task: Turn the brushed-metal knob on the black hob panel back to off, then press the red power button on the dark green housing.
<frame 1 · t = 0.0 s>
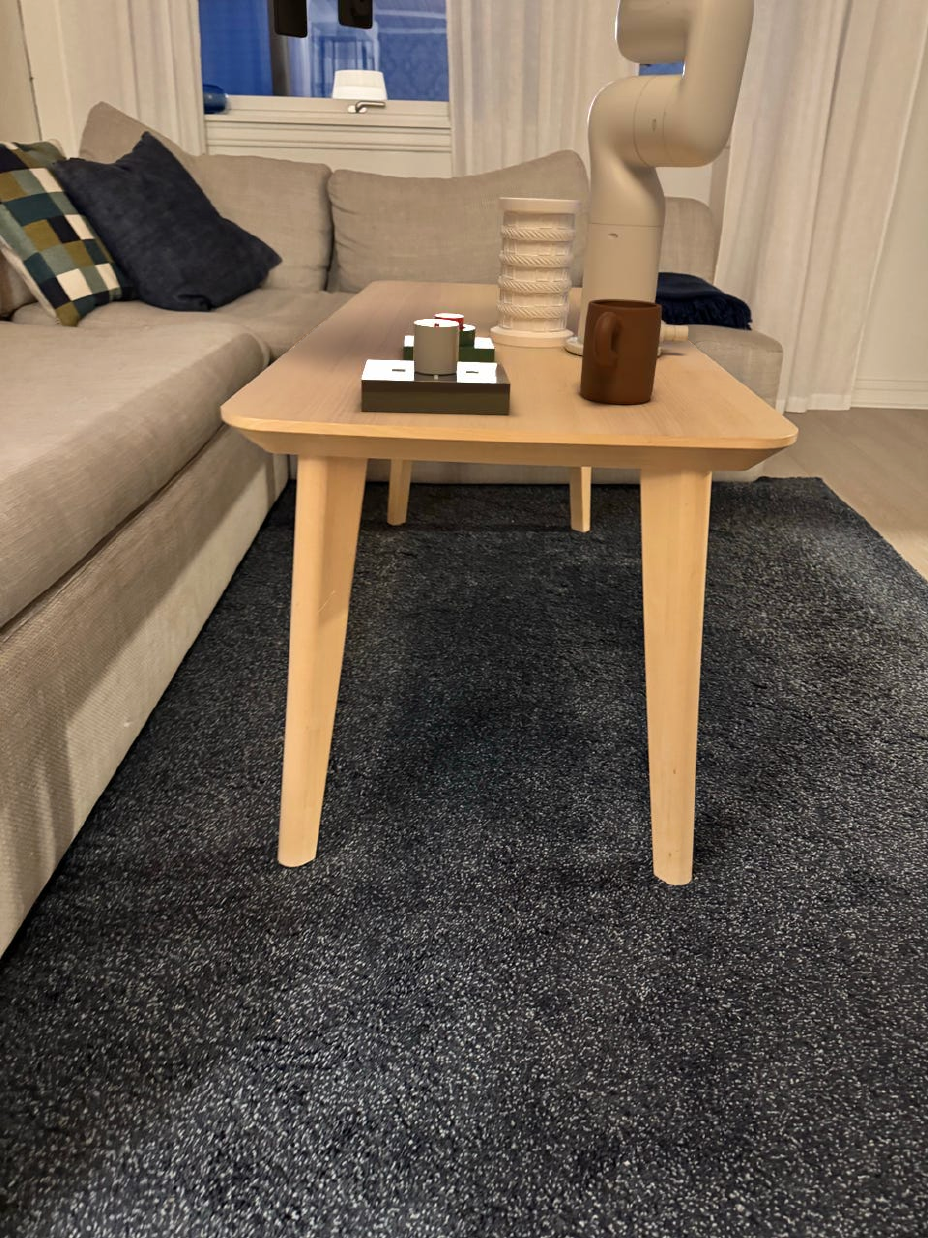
hand: (322, 31, 79), 31 cm above the table, tool pointing down, fingers open, 9 cm apart
power box: (448, 355, 114), on the table
mug: (609, 403, 93), on the table
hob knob: (436, 345, 88), point 5 cm above the table, hinge at 90.0°
power button: (449, 322, 112), point 4 cm above the table, slide at 0.1 cm
decorative container: (531, 341, 127), on the table
hob: (434, 401, 91), on the table
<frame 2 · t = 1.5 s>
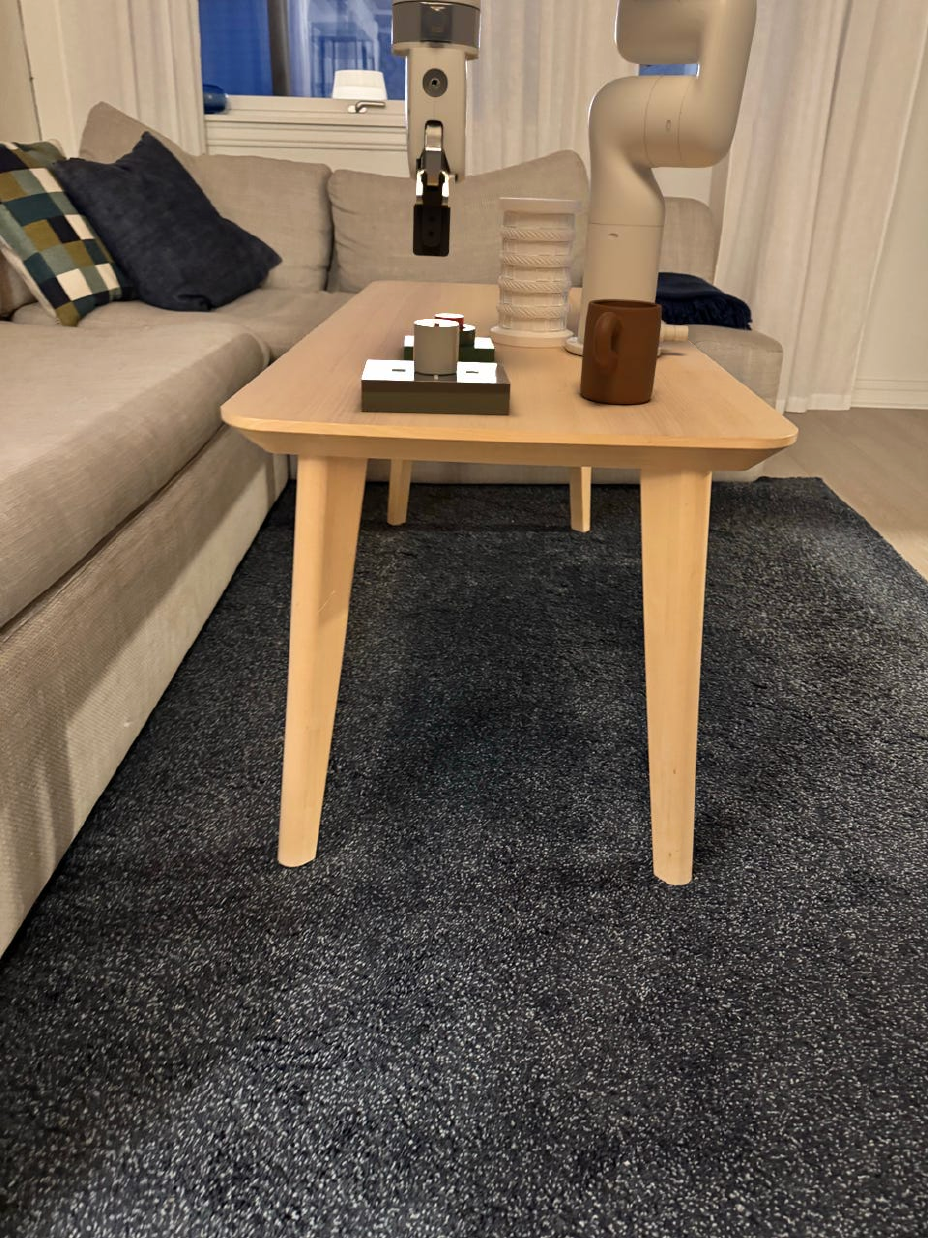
hand: (430, 252, 84), 14 cm above the table, tool pointing down, fingers open, 9 cm apart
nothing on the table moved.
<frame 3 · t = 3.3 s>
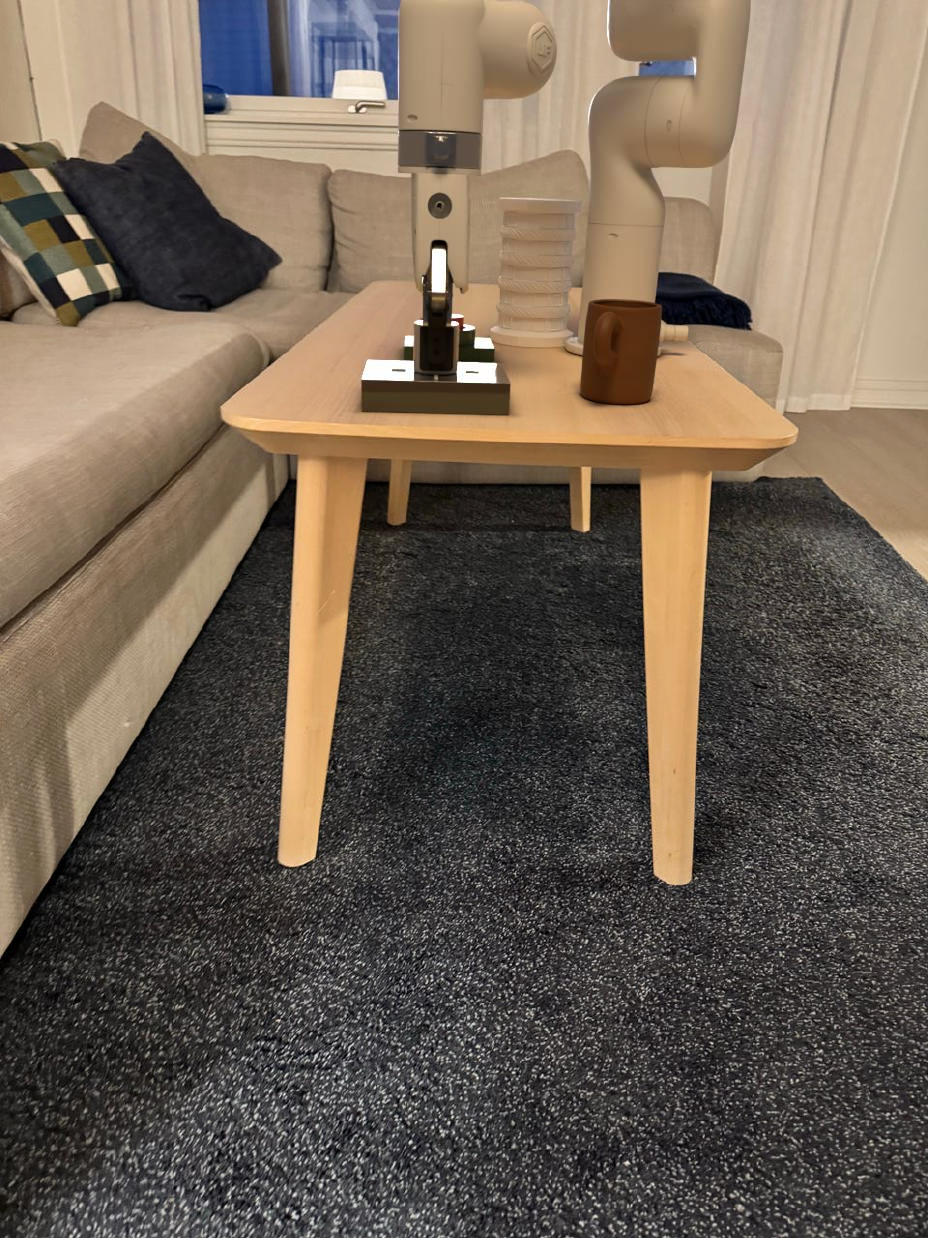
hand: (435, 363, 89), 4 cm above the table, tool pointing down, fingers closed on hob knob, 4 cm apart
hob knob: (436, 345, 88), point 5 cm above the table, hinge at 90.2°, touching gripper
everything else where it was.
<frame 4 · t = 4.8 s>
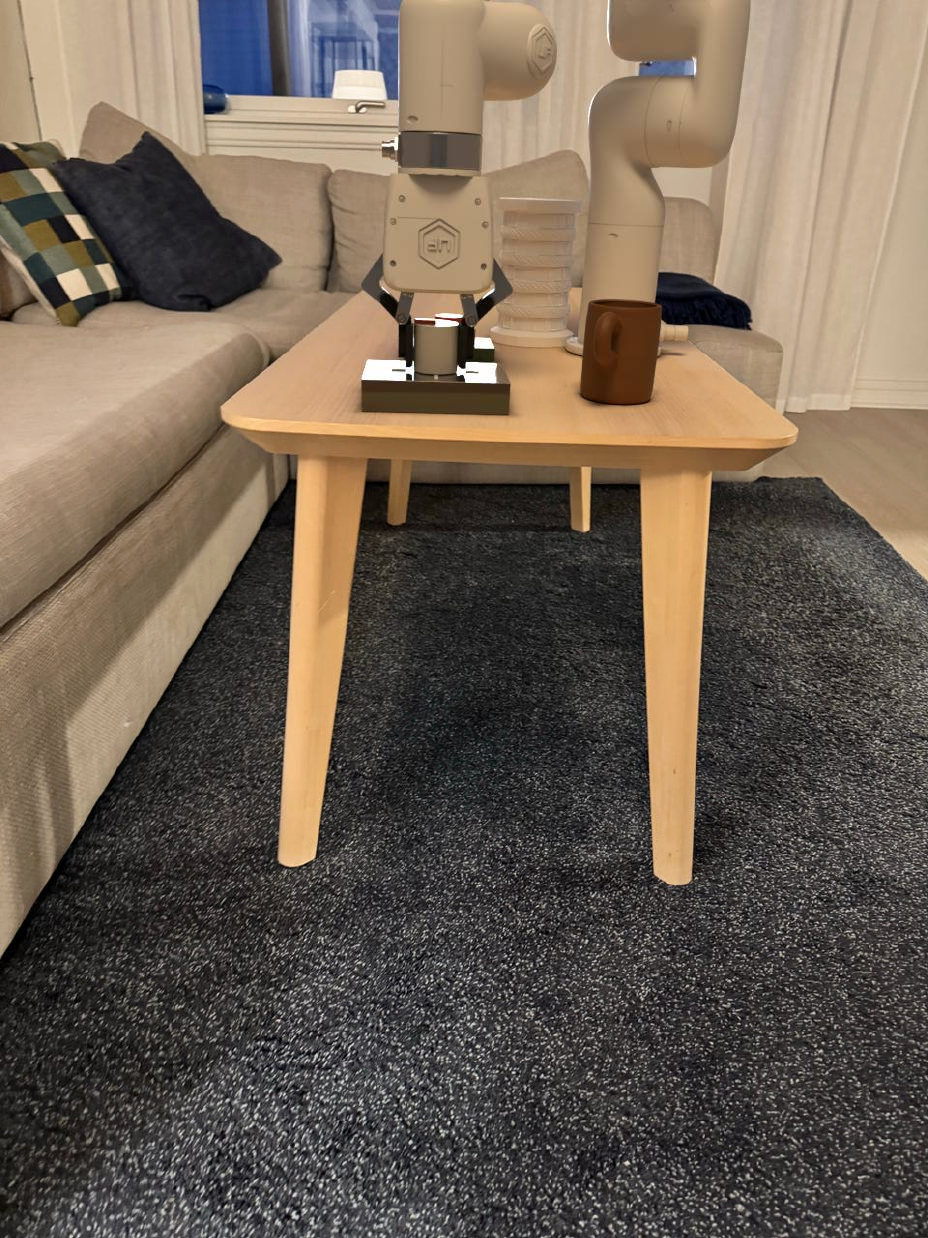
hand: (435, 364, 89), 4 cm above the table, tool pointing down, fingers open, 4 cm apart
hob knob: (436, 345, 88), point 5 cm above the table, hinge at -1.5°
everything else where it was.
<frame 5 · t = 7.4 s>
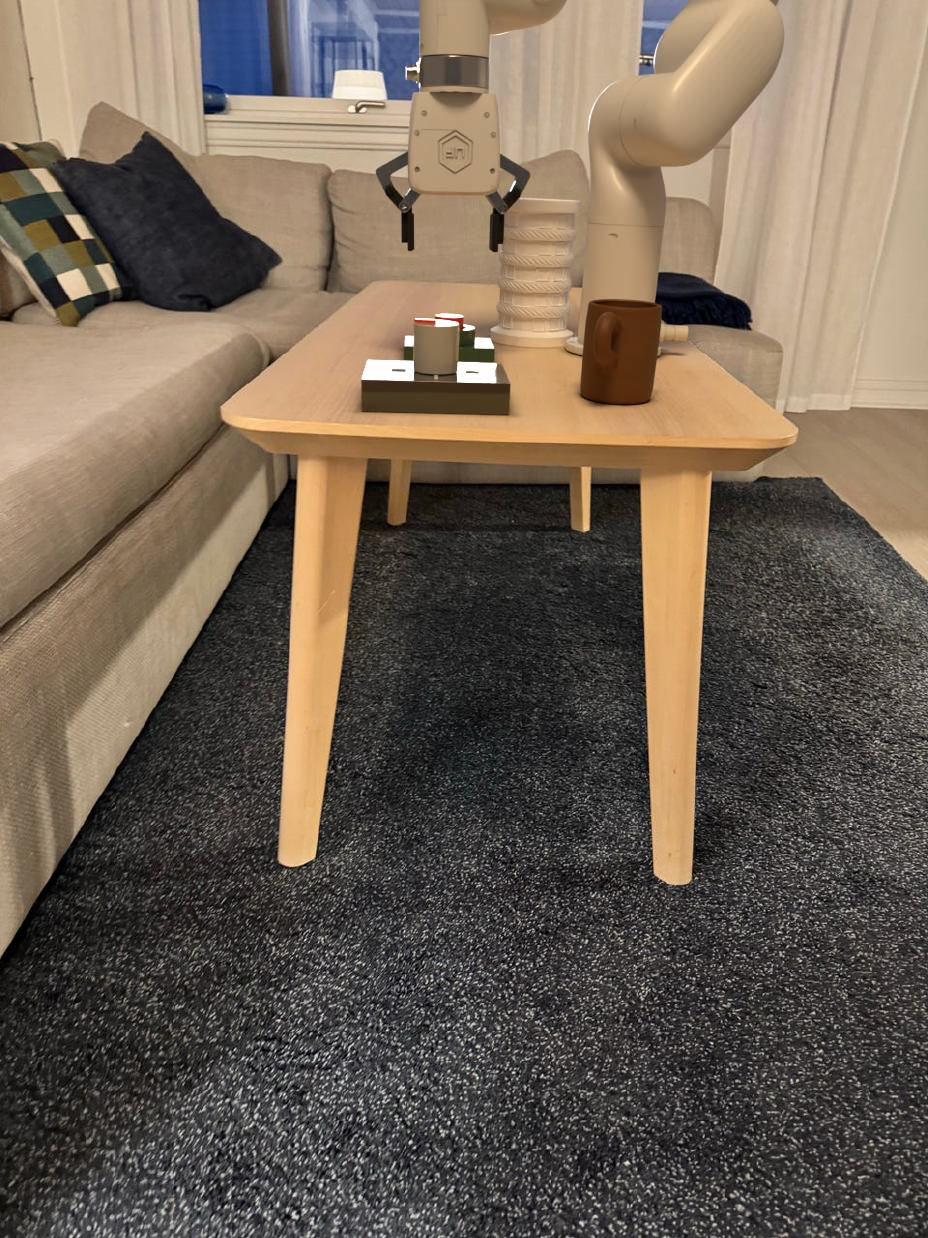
hand: (452, 250, 105), 13 cm above the table, tool pointing down, fingers open, 9 cm apart
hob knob: (436, 345, 88), point 5 cm above the table, hinge at -1.9°
everything else where it was.
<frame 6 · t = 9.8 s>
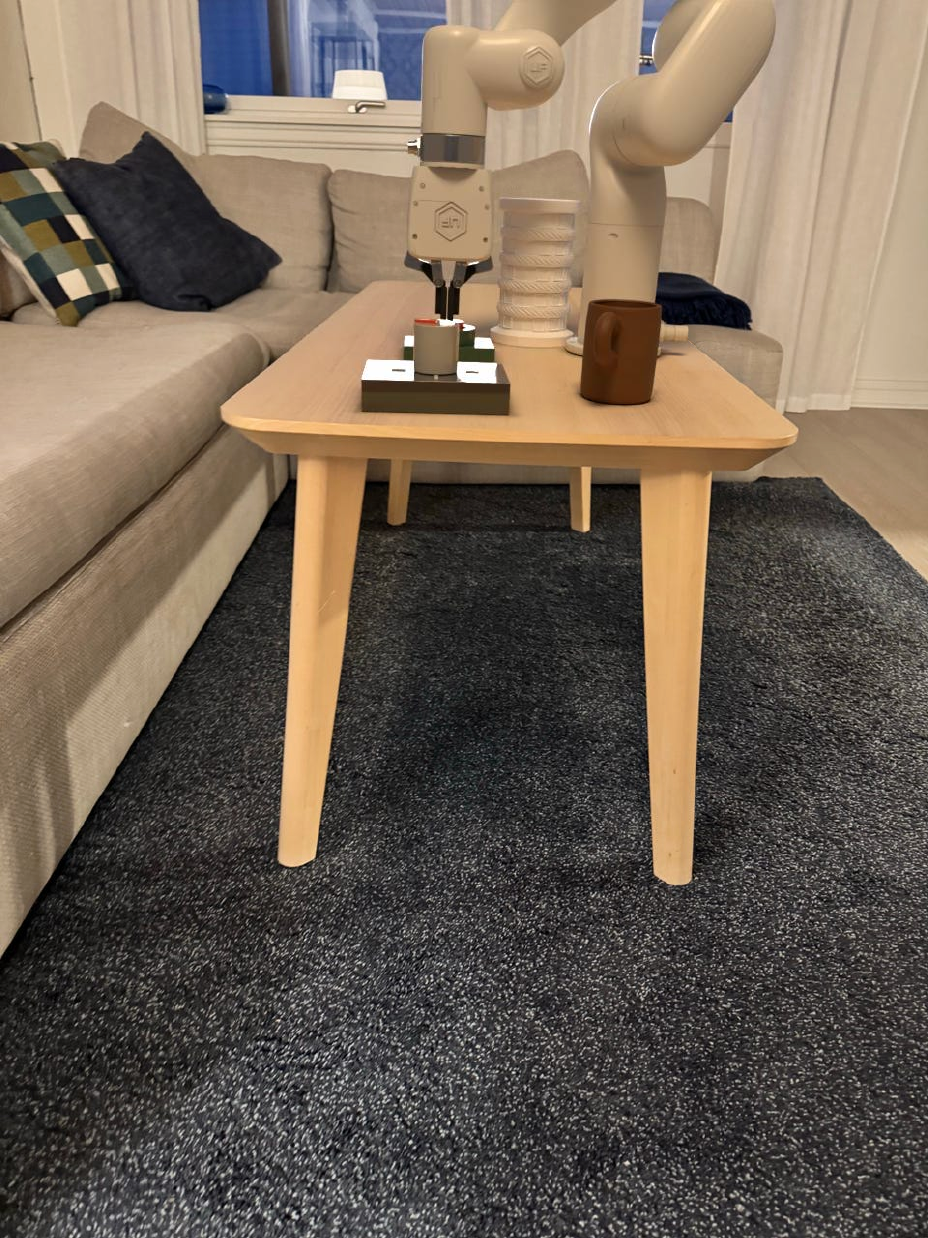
hand: (446, 320, 112), 4 cm above the table, tool pointing down, fingers closed
power button: (449, 328, 113), point 3 cm above the table, slide at -0.5 cm, touching gripper
everything else where it was.
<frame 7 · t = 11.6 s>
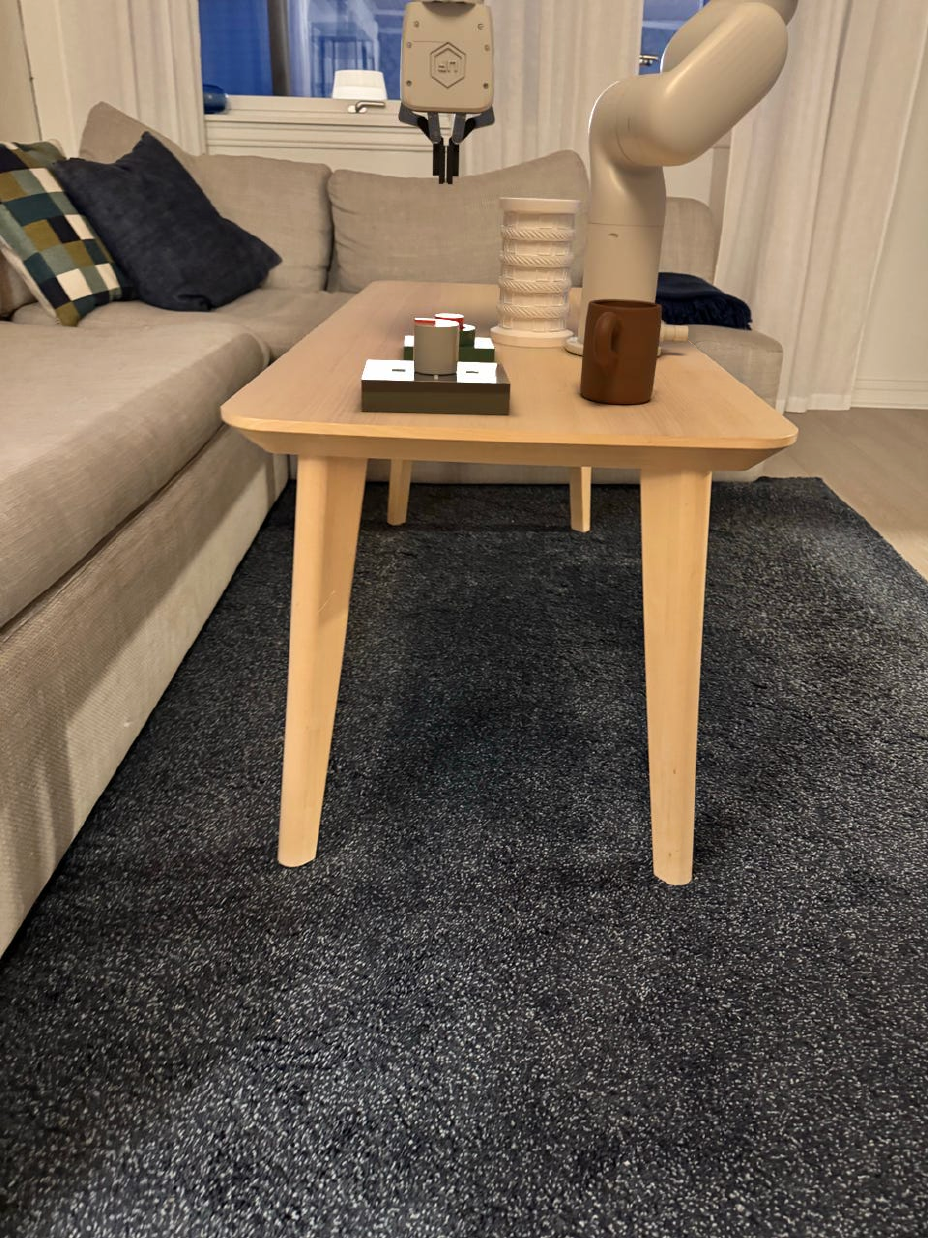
hand: (445, 183, 104), 20 cm above the table, tool pointing down, fingers closed
power button: (449, 322, 112), point 4 cm above the table, slide at 0.1 cm
everything else where it was.
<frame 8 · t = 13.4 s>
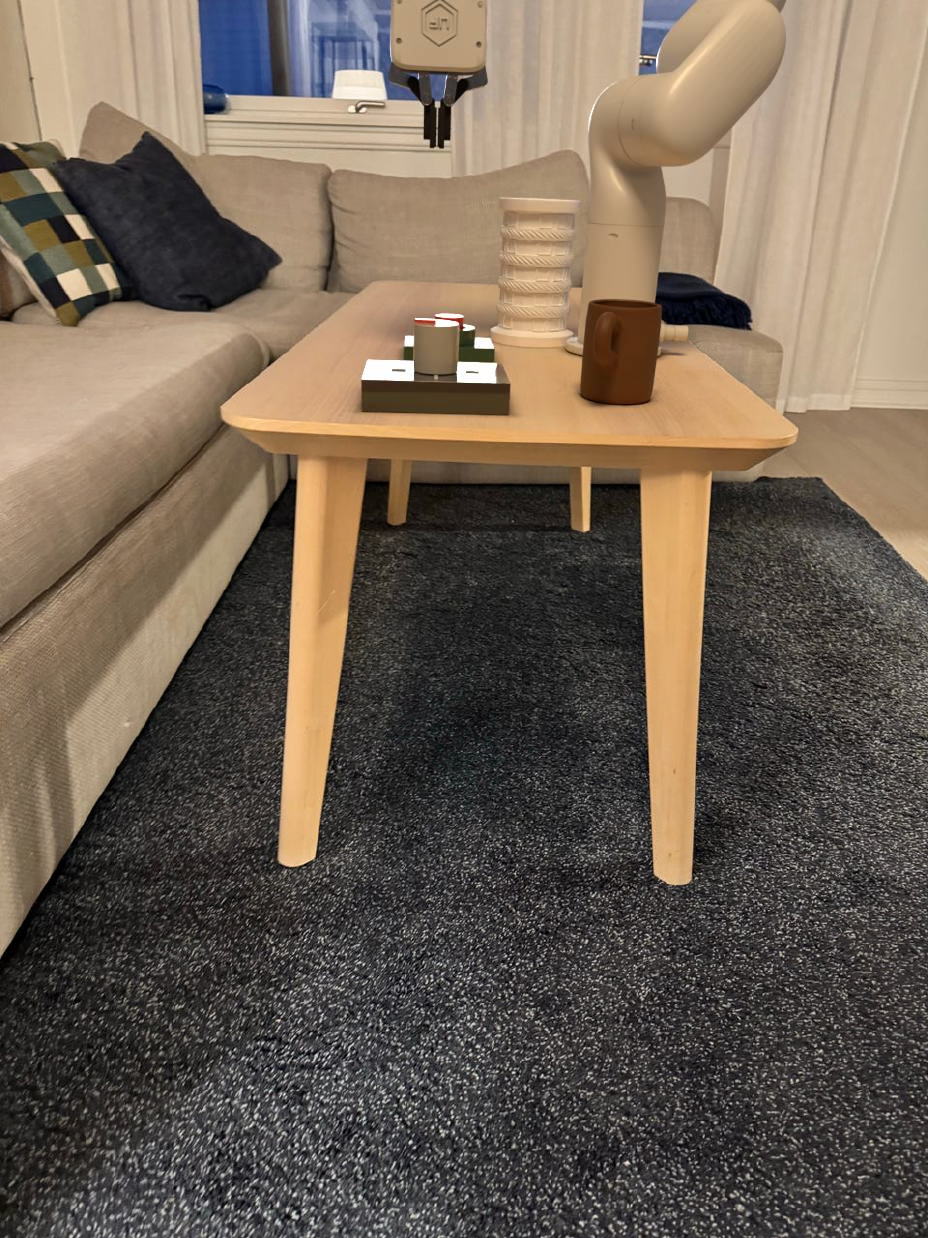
hand: (436, 147, 100), 23 cm above the table, tool pointing down, fingers closed
nothing on the table moved.
at the end: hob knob at -2° (first picture: +90°); power button pushed in 1.1 cm at the most during the clip, back to where it started at the end; power button slide at 0.1 cm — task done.
